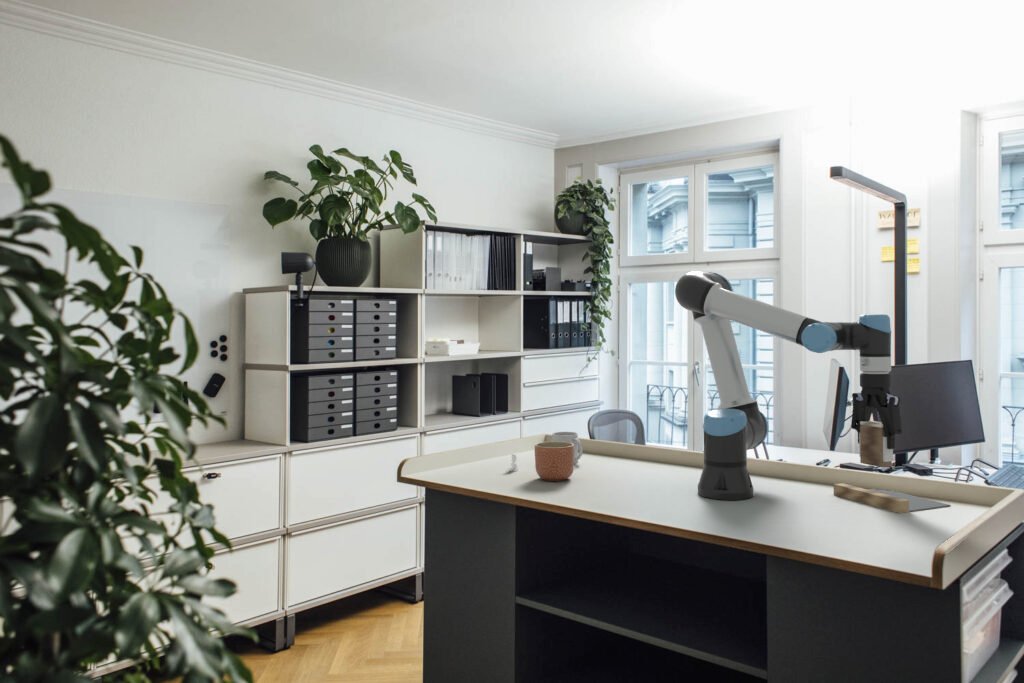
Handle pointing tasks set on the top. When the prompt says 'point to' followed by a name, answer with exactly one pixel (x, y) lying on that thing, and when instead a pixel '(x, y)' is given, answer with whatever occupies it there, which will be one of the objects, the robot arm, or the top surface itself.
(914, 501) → the mat
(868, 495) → the rail
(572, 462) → the planter
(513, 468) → the figurine
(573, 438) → the mug
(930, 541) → the top surface
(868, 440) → the slab
